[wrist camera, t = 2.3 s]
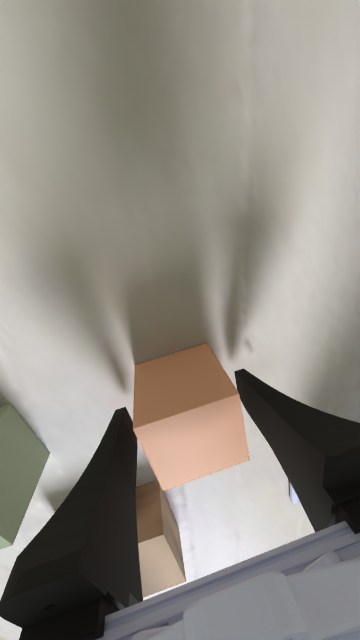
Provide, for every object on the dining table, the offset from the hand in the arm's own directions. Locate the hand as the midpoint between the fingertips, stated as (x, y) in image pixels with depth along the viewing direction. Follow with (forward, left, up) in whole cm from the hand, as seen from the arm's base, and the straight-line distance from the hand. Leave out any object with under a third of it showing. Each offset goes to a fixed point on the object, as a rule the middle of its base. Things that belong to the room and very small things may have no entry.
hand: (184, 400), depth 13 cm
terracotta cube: (0, 0, -2) cm, 2 cm away
